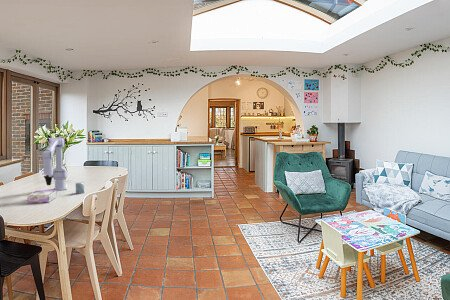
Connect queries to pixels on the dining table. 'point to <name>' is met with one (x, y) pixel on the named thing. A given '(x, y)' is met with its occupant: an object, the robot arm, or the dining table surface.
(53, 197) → the candy box
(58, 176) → the robot arm
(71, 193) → the dining table surface
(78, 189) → the rounded blue cylinder
